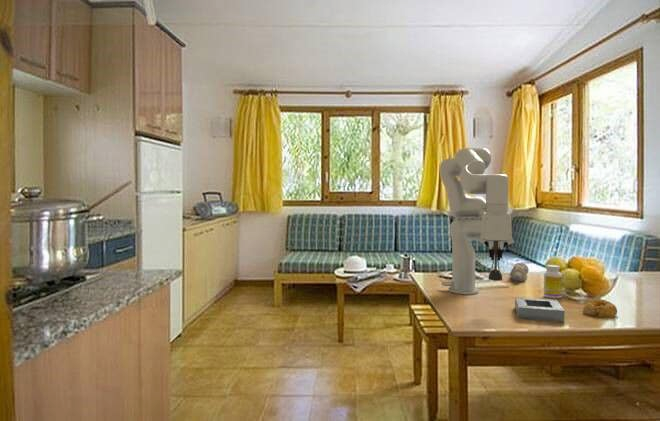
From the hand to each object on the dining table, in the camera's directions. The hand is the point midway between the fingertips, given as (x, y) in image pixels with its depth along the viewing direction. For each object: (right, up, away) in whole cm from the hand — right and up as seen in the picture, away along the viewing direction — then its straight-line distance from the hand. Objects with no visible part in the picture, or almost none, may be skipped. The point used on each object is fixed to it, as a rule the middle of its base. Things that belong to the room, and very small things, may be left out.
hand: (495, 259), depth 160 cm
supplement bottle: (+31, -18, +22) cm, 42 cm away
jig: (+13, -19, -4) cm, 24 cm away
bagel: (+35, -19, -3) cm, 40 cm away
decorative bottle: (+32, -17, +59) cm, 69 cm away
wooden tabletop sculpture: (0, -7, 0) cm, 7 cm away
